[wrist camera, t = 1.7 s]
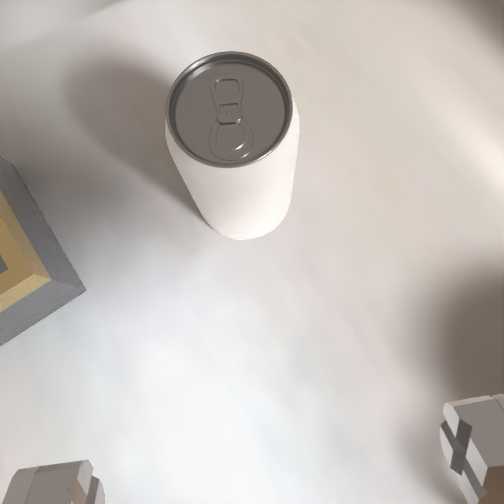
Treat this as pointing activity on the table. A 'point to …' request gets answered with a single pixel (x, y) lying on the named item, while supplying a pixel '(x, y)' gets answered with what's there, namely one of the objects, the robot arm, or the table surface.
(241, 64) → the can
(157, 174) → the table surface
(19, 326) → the drawer
